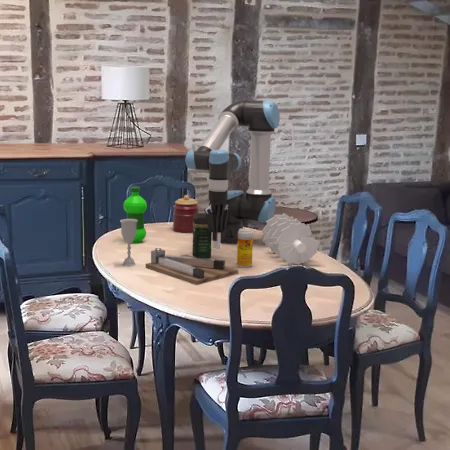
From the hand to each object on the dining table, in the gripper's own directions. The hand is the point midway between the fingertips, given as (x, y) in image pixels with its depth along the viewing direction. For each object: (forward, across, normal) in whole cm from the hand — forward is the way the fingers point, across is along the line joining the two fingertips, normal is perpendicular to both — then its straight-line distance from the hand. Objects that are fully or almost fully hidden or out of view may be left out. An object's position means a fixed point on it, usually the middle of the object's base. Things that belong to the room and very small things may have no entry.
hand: (216, 248), depth 274 cm
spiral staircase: (+8, -33, +10) cm, 35 cm away
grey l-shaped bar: (+7, +16, -4) cm, 18 cm away
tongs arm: (+6, +9, -3) cm, 11 cm away
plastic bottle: (+8, -2, -55) cm, 55 cm away
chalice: (+8, +23, -27) cm, 36 cm away
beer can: (+8, -11, +5) cm, 15 cm away
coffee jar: (+8, -7, -16) cm, 19 cm away
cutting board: (+8, +10, -4) cm, 13 cm away
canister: (+7, -35, -57) cm, 67 cm away
